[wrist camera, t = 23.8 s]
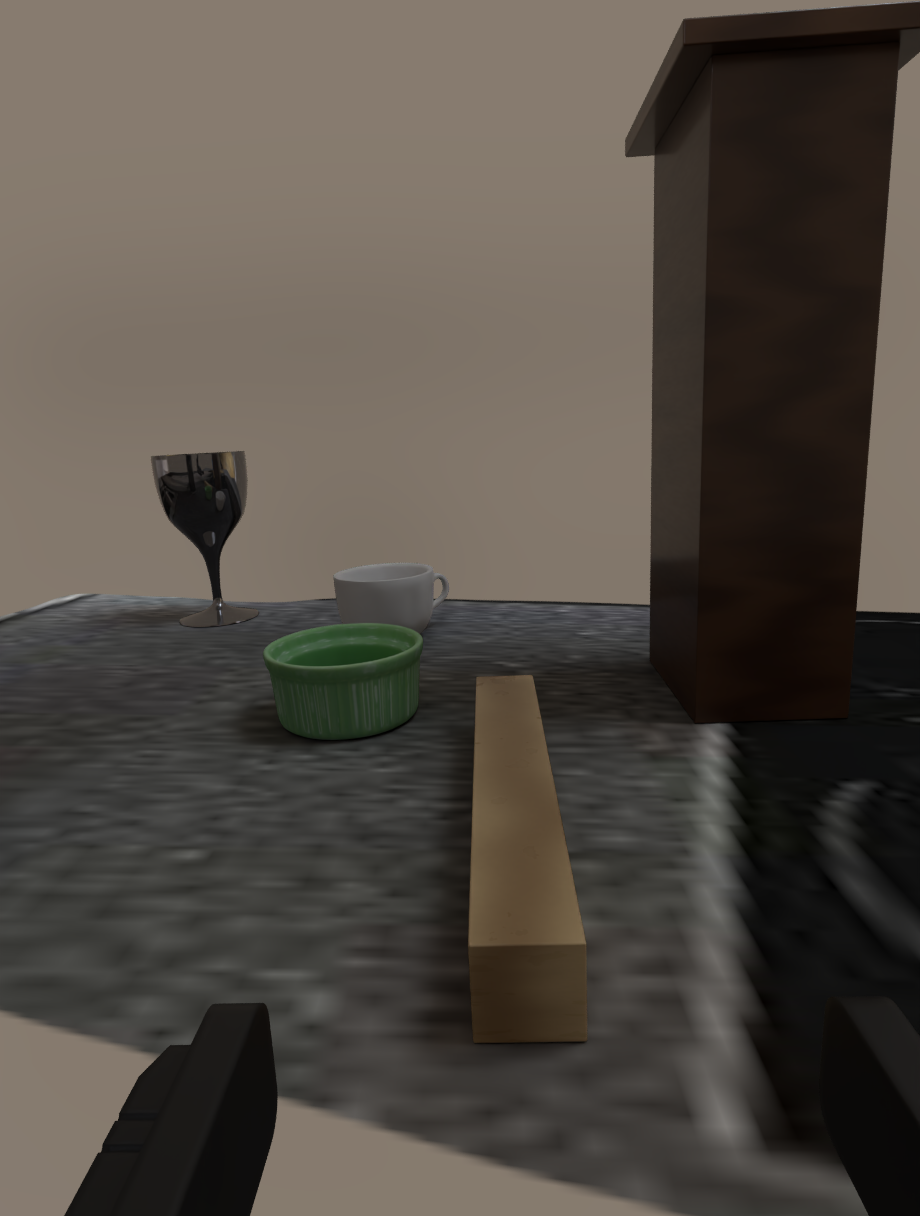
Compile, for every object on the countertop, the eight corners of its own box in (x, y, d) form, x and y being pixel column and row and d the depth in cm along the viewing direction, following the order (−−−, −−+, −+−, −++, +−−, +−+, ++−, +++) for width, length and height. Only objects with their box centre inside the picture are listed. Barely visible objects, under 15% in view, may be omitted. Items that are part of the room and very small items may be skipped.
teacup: (370, 658, 53) (364, 586, 52) (322, 638, 59) (315, 573, 58) (477, 631, 59) (475, 565, 58) (424, 615, 65) (420, 556, 64)
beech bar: (473, 1043, 19) (467, 945, 19) (478, 729, 40) (476, 676, 39) (588, 1042, 19) (586, 943, 18) (534, 727, 40) (532, 674, 39)
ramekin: (402, 750, 37) (396, 668, 36) (241, 743, 39) (231, 665, 38) (443, 690, 46) (439, 622, 45) (309, 686, 48) (303, 621, 47)
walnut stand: (670, 732, 38) (683, 17, 31) (624, 657, 51) (625, 138, 43) (887, 724, 38) (953, -3, 30) (786, 650, 50) (815, 125, 43)
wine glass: (216, 605, 74) (196, 453, 70) (280, 609, 70) (263, 450, 67) (155, 625, 67) (130, 457, 63) (223, 630, 63) (200, 454, 60)
